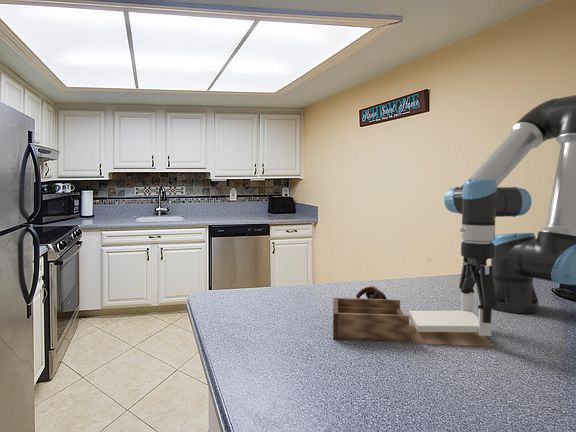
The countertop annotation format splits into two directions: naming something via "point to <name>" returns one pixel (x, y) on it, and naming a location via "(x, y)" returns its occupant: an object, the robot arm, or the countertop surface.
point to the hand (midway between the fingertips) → (475, 326)
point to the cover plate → (444, 321)
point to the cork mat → (447, 337)
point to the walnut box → (369, 320)
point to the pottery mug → (371, 293)
